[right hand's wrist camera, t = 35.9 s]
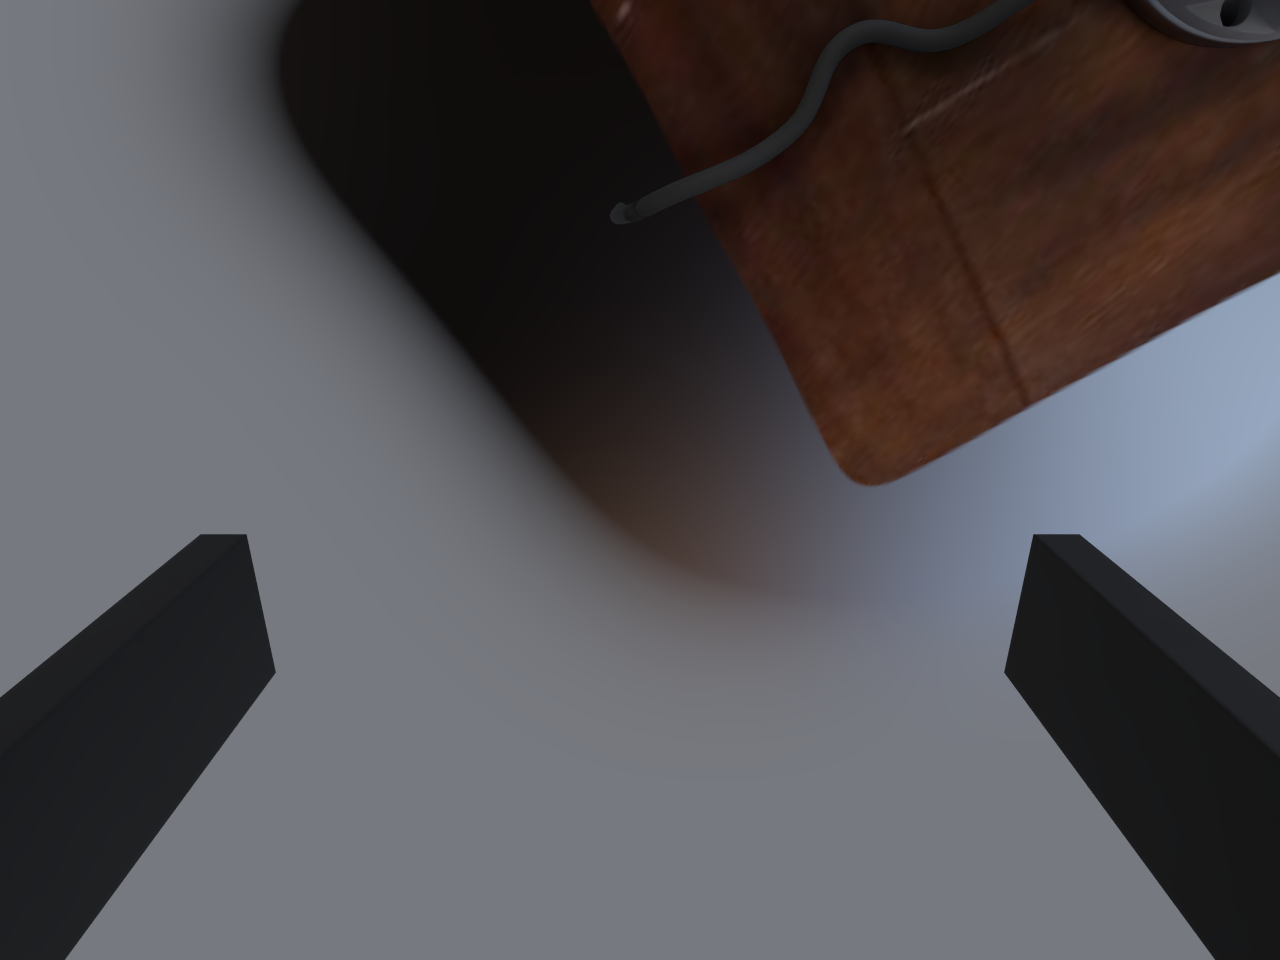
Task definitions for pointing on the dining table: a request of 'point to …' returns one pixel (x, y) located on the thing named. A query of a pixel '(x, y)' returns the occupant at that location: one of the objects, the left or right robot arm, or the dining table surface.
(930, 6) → the dining table surface
